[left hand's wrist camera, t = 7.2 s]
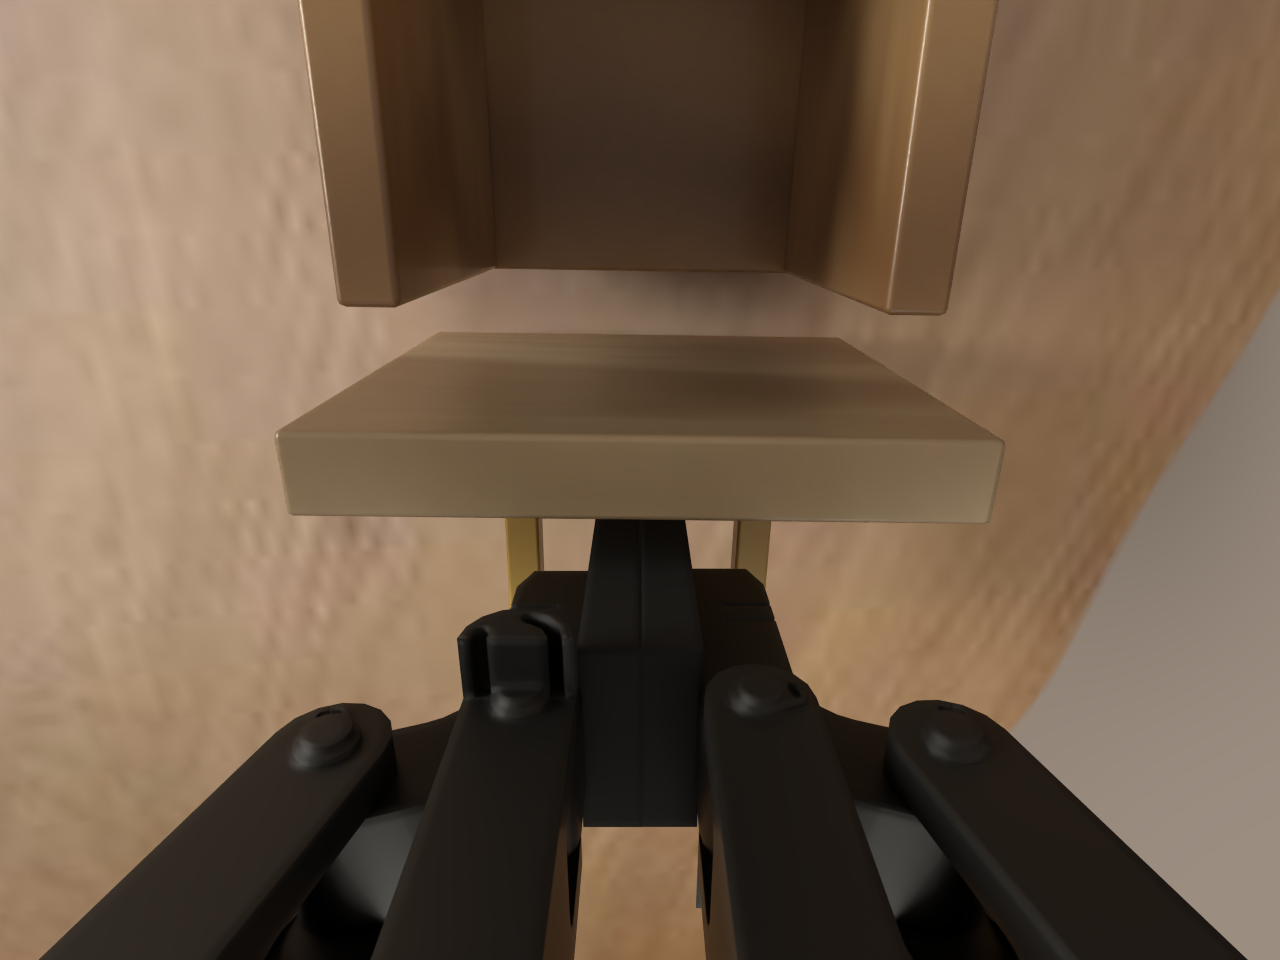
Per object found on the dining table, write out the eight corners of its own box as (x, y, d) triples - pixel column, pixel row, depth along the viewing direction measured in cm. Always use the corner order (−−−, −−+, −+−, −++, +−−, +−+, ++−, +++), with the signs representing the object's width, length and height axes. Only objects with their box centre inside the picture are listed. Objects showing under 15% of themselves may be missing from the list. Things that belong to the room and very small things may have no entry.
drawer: (813, 578, 19) (930, 821, 11) (457, 574, 19) (338, 816, 11) (948, -598, 11) (1560, -2188, 4) (355, -614, 11) (-209, -2266, 4)
